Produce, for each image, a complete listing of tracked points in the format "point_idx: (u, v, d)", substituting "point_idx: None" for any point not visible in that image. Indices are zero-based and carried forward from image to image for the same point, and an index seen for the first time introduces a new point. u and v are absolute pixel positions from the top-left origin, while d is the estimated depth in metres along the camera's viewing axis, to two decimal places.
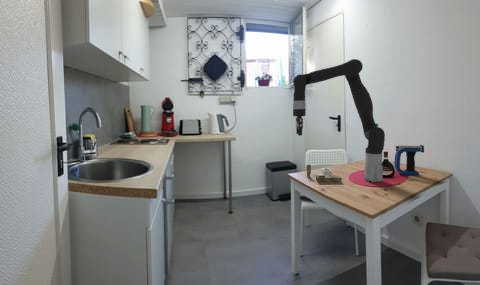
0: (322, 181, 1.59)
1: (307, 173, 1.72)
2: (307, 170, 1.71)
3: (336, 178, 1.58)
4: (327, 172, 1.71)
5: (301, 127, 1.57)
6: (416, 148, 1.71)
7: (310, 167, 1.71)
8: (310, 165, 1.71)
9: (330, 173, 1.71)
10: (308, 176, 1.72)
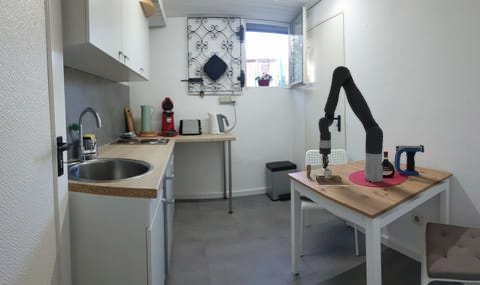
0: (322, 181, 1.59)
1: (307, 173, 1.72)
2: (307, 170, 1.71)
3: (336, 178, 1.58)
4: (327, 172, 1.70)
5: (326, 165, 1.76)
6: (416, 148, 1.71)
7: (310, 167, 1.71)
8: (310, 165, 1.71)
9: (330, 173, 1.70)
10: (308, 176, 1.72)
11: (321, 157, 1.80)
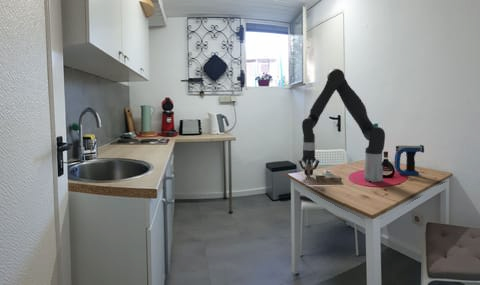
0: (322, 181, 1.59)
1: (307, 173, 1.72)
2: (307, 170, 1.71)
3: (336, 178, 1.58)
4: None
5: (302, 167, 1.72)
6: (416, 148, 1.71)
7: (310, 167, 1.71)
8: (310, 165, 1.71)
9: None
10: (308, 176, 1.72)
11: None
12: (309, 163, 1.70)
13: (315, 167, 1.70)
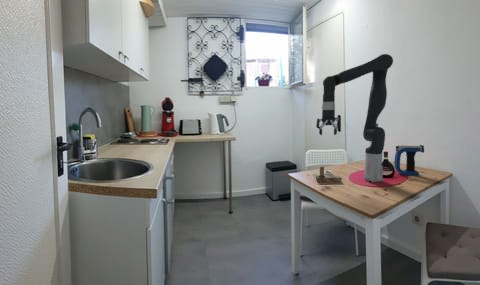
0: (322, 181, 1.59)
1: (320, 176, 1.61)
2: (320, 172, 1.60)
3: (336, 178, 1.58)
4: None
5: (316, 127, 1.69)
6: (416, 148, 1.71)
7: (323, 169, 1.60)
8: (323, 167, 1.60)
9: None
10: None
11: None
12: (330, 124, 1.67)
13: (339, 126, 1.66)
